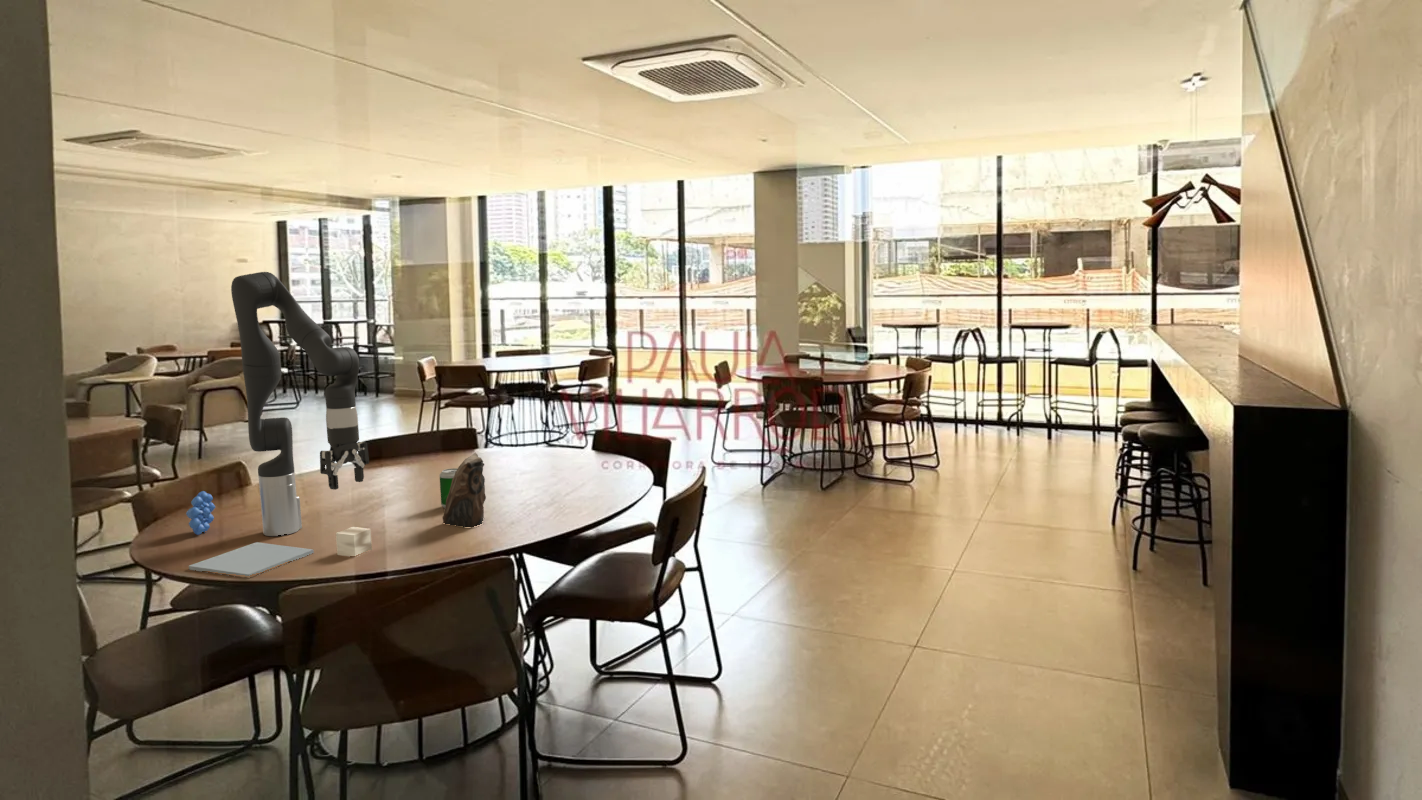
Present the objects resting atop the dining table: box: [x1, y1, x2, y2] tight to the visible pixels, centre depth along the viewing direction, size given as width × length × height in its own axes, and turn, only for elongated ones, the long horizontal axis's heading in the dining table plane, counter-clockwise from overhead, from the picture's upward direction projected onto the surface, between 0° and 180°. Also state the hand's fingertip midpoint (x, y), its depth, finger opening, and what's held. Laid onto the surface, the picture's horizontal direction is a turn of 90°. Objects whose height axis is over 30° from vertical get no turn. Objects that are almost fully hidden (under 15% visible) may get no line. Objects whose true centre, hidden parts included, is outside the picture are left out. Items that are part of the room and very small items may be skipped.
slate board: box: [188, 541, 315, 576], centre depth 213 cm, size 20×20×1 cm
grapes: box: [185, 490, 216, 536], centre depth 237 cm, size 12×7×12 cm, turn 5°
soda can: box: [439, 467, 458, 509], centre depth 262 cm, size 8×8×12 cm
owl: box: [442, 452, 487, 528], centre depth 244 cm, size 13×13×20 cm
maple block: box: [335, 526, 373, 557], centre depth 219 cm, size 6×6×6 cm
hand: (346, 485), depth 216 cm, fingers open, 8 cm apart
